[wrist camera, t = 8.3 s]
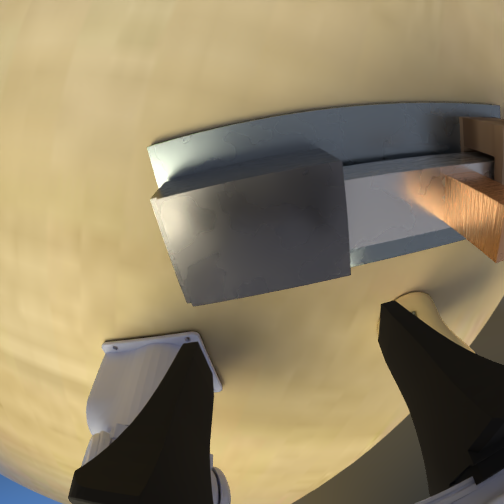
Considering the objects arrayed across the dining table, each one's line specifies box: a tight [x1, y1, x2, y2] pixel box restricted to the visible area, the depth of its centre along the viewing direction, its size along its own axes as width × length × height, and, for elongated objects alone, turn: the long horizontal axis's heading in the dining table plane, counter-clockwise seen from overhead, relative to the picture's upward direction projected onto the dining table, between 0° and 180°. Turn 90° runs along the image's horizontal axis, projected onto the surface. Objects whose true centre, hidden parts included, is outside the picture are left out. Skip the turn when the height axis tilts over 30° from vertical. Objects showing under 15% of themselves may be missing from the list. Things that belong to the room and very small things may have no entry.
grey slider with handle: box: [343, 151, 504, 263], centre depth 14 cm, size 16×4×8 cm, turn 102°
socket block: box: [459, 117, 504, 185], centre depth 16 cm, size 4×9×5 cm, turn 12°
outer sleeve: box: [147, 102, 500, 306], centre depth 17 cm, size 26×11×5 cm, turn 102°
